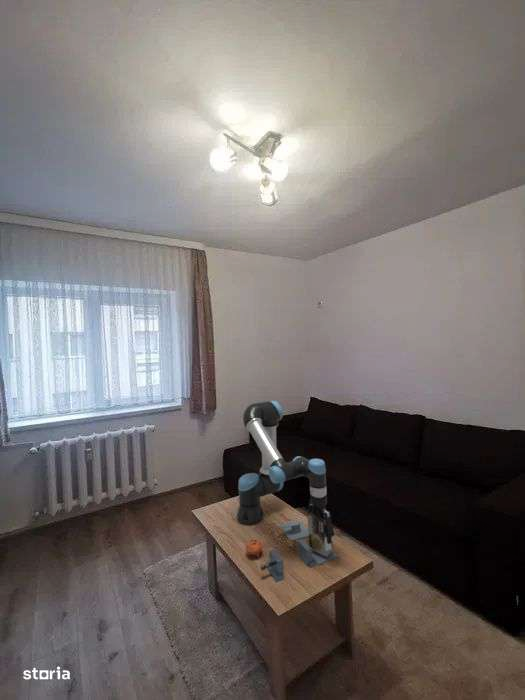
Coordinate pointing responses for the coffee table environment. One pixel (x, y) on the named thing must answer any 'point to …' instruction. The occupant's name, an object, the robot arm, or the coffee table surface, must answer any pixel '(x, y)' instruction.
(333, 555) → the pad
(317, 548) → the coffee box
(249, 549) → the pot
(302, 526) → the shower valve
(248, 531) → the coffee table surface
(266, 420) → the robot arm
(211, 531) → the coffee table surface
